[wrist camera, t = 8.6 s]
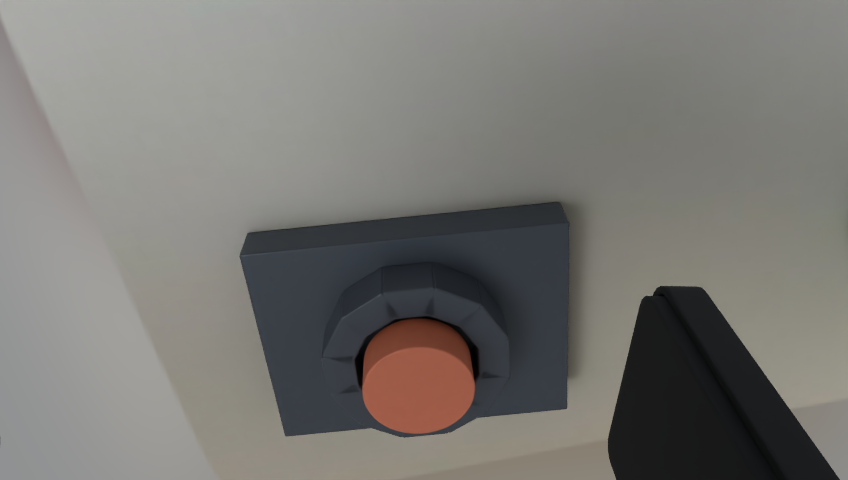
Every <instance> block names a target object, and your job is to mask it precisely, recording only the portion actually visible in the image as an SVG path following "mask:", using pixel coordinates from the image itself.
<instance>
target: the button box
mask: <svg viewBox="0 0 848 480" xmlns="http://www.w3.org/2000/svg"><path fill="white" fill-rule="evenodd" d="M240 259H241V263H242V267H243V271H244V275H245V279H246V283H247V287H248V291H249V295H250V299H251V303H252V307H253V311H254V314H255V318H256V322H257V326H258V330H259V334H260V338H261V342H262V346H263V350H264V354H265V358H266V362H267V366H268V370H269V374H270V378H271V381H272V385H273V389H274V393H275V397H276V401H277V405H278V409H279V413H280V417H281V421H282V425H283V429H284V433H285V436H296V435H306V434H316V433H326V432H336V431H347V430H357V429H367V428H373V429H376V430H379V431H383V432H386V433H389V434H392V435H396V436H399V437H414V436H424V435H434V434H445V433H448V432H452V431H454V430H456V429H457V428H459V427H461V426H463V425H465V424H467V423H468V422H470V421H472V420H474V419H476V418H479V417H489V416H499V415H510V414H520V413H530V412H540V411H550V410H561V409H567V374H568V294H569V221H568V219H567V217H566V215H565V213H564V211H563V208H562V206H561V204H560V203H559V202H556V203H546V204H536V205H526V206H516V207H506V208H496V209H486V210H476V211H466V212H456V213H446V214H436V215H426V216H416V217H406V218H396V219H386V220H376V221H366V222H356V223H346V224H336V225H326V226H316V227H306V228H296V229H286V230H276V231H266V232H256V233H248V234H247V236H246V239H245V242H244V245H243V248H242V250H241V253H240ZM412 318H426V319H432V320H436V321H439V322H442V323H444V324H447V325H448V326H450V327H452V328H453V329H454V330H456V331H457V332H458V333H459V334H460V335H461V336H462V337H463V339H464V340H465V342H466V343H467V345H468V348H469V351H470V357H471V363H472V369H473V376H474V382H475V394H474V399H473V401H472V404H471V406H470V407H469V409H468V410H467V412H466V413H465V414H464V415H463V416H462V417H461V418H460V419H459V420H458V421H456V422H455V423H453V424H452V425H450V426H448V427H446V428H444V429H441V430H438V431H434V432H430V433H421V434H413V433H404V432H400V431H396V430H393V429H390V428H388V427H386V426H384V425H383V424H381V423H380V422H378V421H377V420H376V419H375V418H374V417H373V416H372V415H371V414H370V412H369V411H368V409H367V408H366V405H365V403H364V400H363V395H362V385H363V365H364V355H365V351H366V348H367V346H368V344H369V343H370V341H371V340H372V339H373V337H374V336H375V335H376V334H377V333H378V332H379V331H381V330H382V329H384V328H385V327H387V326H389V325H390V324H393V323H395V322H398V321H401V320H405V319H412Z"/></svg>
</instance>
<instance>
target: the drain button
mask: <svg viewBox="0 0 848 480" xmlns="http://www.w3.org/2000/svg"><path fill="white" fill-rule="evenodd" d="M474 394H475V382H474V376H473V369H472V363H471V357H470V351H469V348H468V345H467V343H466V342H465V340H464V339H463V337H462V336H461V335H460V334H459V333H458V332H457V331H456V330H454V329H453V328H452V327H450V326H448V325H447V324H444V323H442V322H439V321H436V320H432V319H426V318H412V319H405V320H401V321H398V322H395V323H393V324H390V325H389V326H387V327H385V328H384V329H382V330H381V331H379V332H378V333H377V334H376V335H375V336H374V337H373V339H372V340H371V341H370V343H369V344H368V346H367V348H366V351H365V355H364V365H363V385H362V395H363V400H364V403H365V405H366V408H367V409H368V411H369V412H370V414H371V415H372V416H373V417H374V418H375V419H376V420H377V421H378V422H380V423H381V424H383V425H384V426H386V427H388V428H390V429H393V430H396V431H400V432H404V433H413V434H421V433H430V432H434V431H438V430H441V429H444V428H446V427H448V426H450V425H452V424H453V423H455V422H456V421H458V420H459V419H460V418H461V417H462V416H463V415H464V414H465V413H466V412H467V410H468V409H469V407H470V406H471V404H472V401H473V399H474Z"/></svg>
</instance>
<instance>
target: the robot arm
mask: <svg viewBox="0 0 848 480" xmlns="http://www.w3.org/2000/svg"><path fill="white" fill-rule="evenodd" d="M608 453H609V459H610V463H611V466H612V468H613V471H614V474H615V477H616V480H840V479H839V478H838V477H837V475H836V474H835V472H834V471H833V470H832V468H831V467H830V465H829V464H828V462H827V461H826V460H825V458H824V457H823V456H822V454H821V453H820V451H819V450H818V448H817V447H816V446H815V444H814V443H813V442H812V440H811V439H810V437H809V436H808V434H807V433H806V432H805V430H804V429H803V428H802V426H801V425H800V423H799V422H798V420H797V419H796V418H795V416H794V415H793V413H792V412H791V411H790V409H789V408H788V406H787V405H786V403H785V402H784V401H783V399H782V398H781V396H780V395H779V394H778V392H777V391H776V389H775V388H774V387H773V385H772V384H771V382H770V381H769V380H768V378H767V377H766V375H765V374H764V373H763V371H762V370H761V368H760V367H759V366H758V364H757V363H756V361H755V360H754V359H753V357H752V356H751V354H750V353H749V352H748V350H747V349H746V347H745V346H744V345H743V343H742V342H741V340H740V339H739V338H738V336H737V335H736V333H735V332H734V331H733V329H732V328H731V326H730V325H729V324H728V322H727V321H726V319H725V318H724V316H723V315H722V314H721V312H720V311H719V309H718V308H717V307H716V305H715V304H714V302H713V301H712V300H711V298H710V297H709V295H708V294H707V293H706V291H705V290H704V289H703V288H701V287H685V286H660V287H658V288H657V289H656V290H655V292H654V294H653V296H645V297H644V298H643V299H642V301H641V304H640V307H639V311H638V315H637V320H636V324H635V328H634V332H633V336H632V340H631V345H630V349H629V353H628V357H627V361H626V366H625V370H624V374H623V378H622V382H621V386H620V391H619V395H618V399H617V403H616V407H615V411H614V416H613V420H612V424H611V428H610V432H609V438H608Z"/></svg>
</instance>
